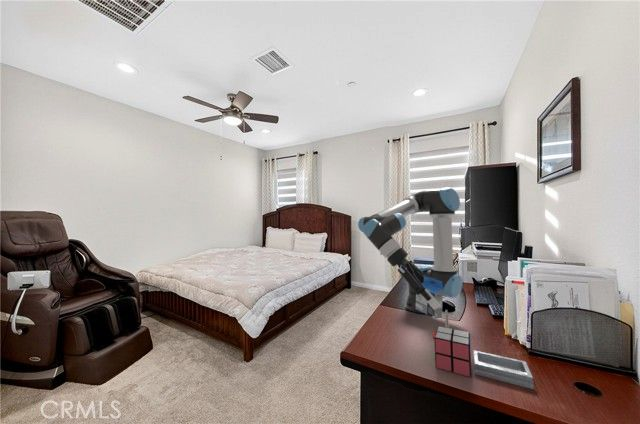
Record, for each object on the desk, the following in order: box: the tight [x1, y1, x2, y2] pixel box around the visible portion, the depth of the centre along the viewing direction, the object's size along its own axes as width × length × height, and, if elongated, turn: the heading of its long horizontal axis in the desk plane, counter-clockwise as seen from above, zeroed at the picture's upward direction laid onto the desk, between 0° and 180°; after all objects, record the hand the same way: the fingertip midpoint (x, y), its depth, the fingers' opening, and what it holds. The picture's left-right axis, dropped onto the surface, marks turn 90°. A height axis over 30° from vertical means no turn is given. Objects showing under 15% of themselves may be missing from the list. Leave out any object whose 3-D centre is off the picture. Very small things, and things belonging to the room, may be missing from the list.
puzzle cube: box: [433, 326, 472, 378], centre depth 81 cm, size 10×10×10 cm
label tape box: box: [416, 276, 443, 319], centre depth 85 cm, size 9×4×12 cm, turn 21°
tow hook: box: [432, 309, 450, 338], centre depth 99 cm, size 8×13×9 cm
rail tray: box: [473, 349, 535, 390], centre depth 76 cm, size 10×14×3 cm
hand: (439, 303), depth 84 cm, fingers closed on label tape box, 8 cm apart
